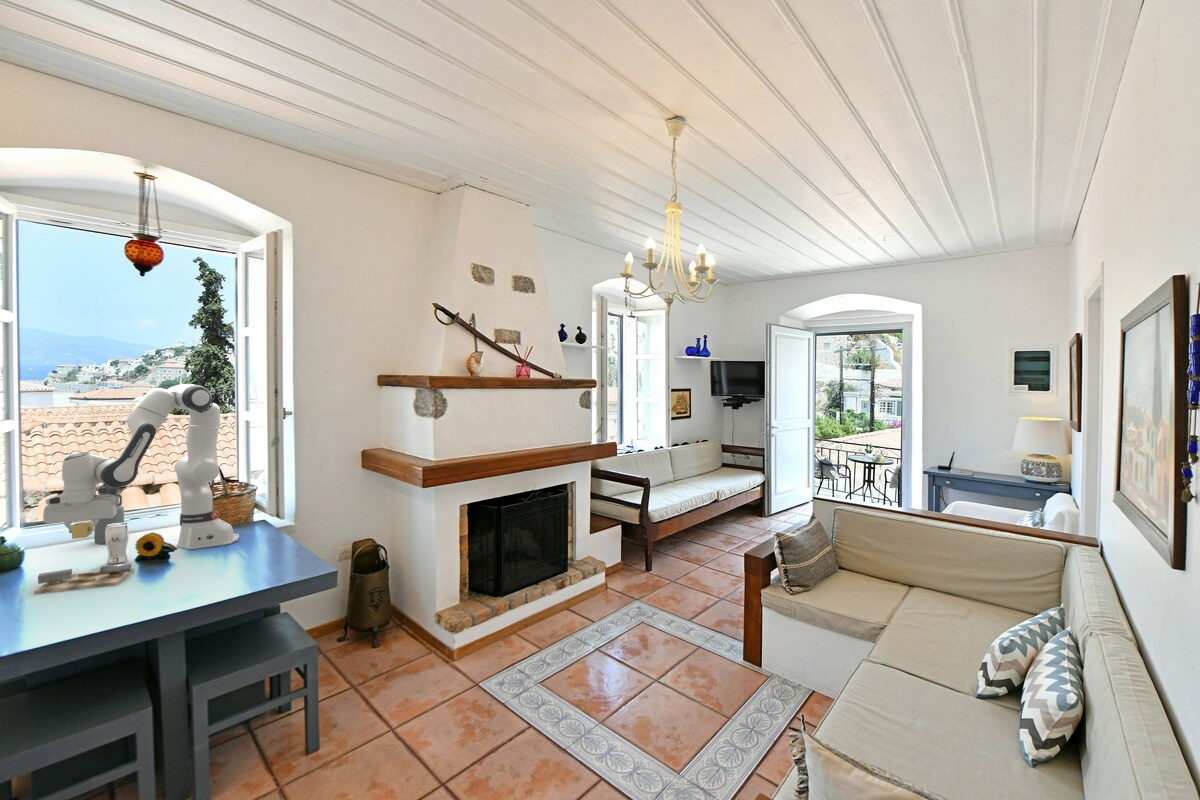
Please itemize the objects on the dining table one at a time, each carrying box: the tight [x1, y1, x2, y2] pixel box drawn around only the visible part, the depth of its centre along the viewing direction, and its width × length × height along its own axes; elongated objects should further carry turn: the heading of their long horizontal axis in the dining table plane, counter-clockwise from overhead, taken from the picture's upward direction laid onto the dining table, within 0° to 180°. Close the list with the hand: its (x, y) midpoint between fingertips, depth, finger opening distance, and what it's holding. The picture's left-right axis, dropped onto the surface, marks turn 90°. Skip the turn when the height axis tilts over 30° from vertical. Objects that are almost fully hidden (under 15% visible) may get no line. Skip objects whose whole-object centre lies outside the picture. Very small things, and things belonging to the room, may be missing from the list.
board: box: [33, 568, 134, 595], centre depth 188 cm, size 22×14×2 cm, turn 114°
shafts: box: [37, 563, 132, 585], centre depth 187 cm, size 24×5×3 cm, turn 114°
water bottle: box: [93, 483, 125, 545], centre depth 232 cm, size 10×10×28 cm
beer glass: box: [105, 522, 130, 565], centre depth 208 cm, size 7×7×15 cm
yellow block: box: [71, 520, 94, 540], centre depth 198 cm, size 5×4×5 cm
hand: (82, 531), depth 198 cm, fingers closed on yellow block, 4 cm apart
